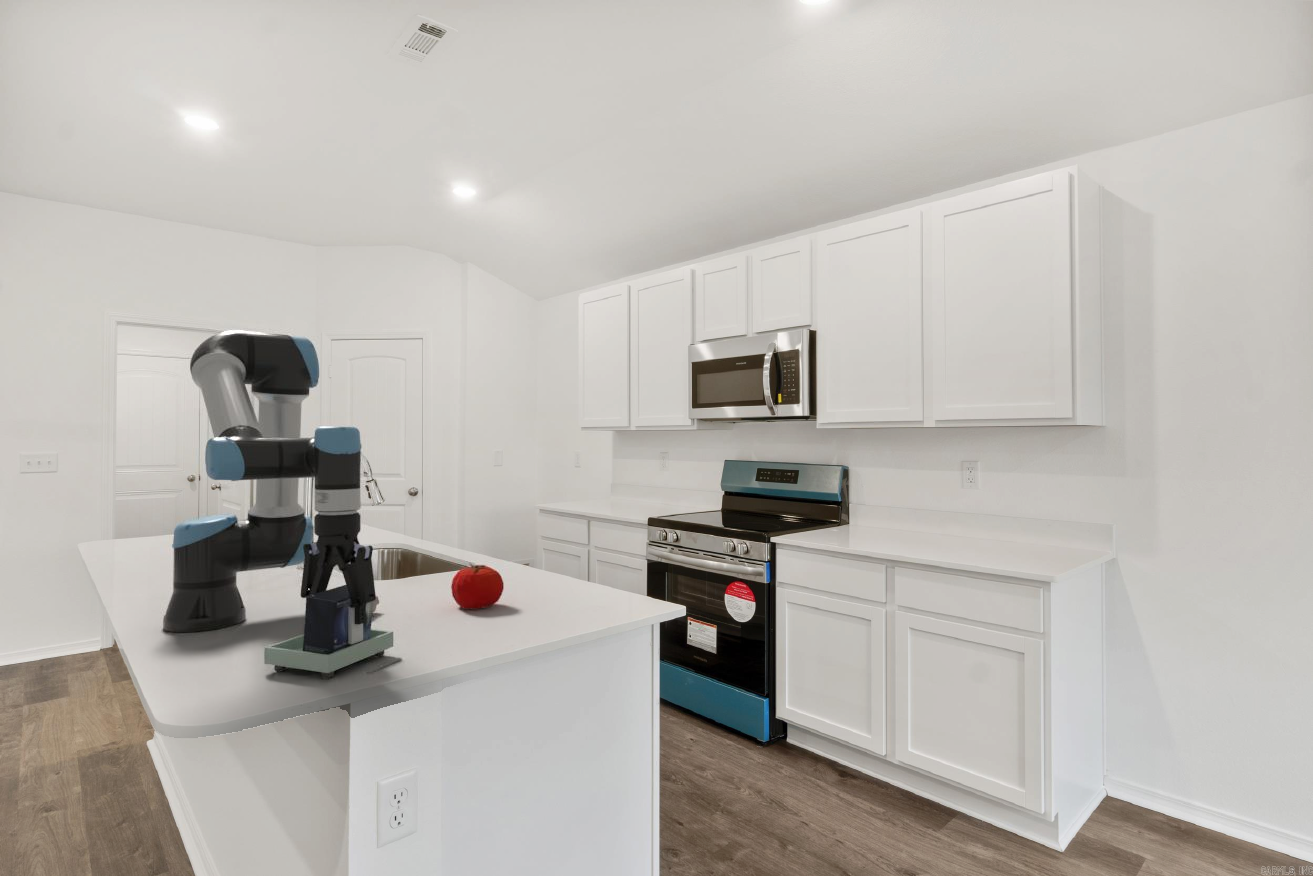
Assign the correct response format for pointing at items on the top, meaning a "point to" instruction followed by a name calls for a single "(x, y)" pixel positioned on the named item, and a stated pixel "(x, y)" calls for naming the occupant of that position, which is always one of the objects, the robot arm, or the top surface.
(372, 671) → the strip
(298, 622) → the top surface
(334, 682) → the top surface
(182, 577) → the robot arm
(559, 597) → the top surface
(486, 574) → the tomato
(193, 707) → the top surface
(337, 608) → the small box
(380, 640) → the green footed tray
